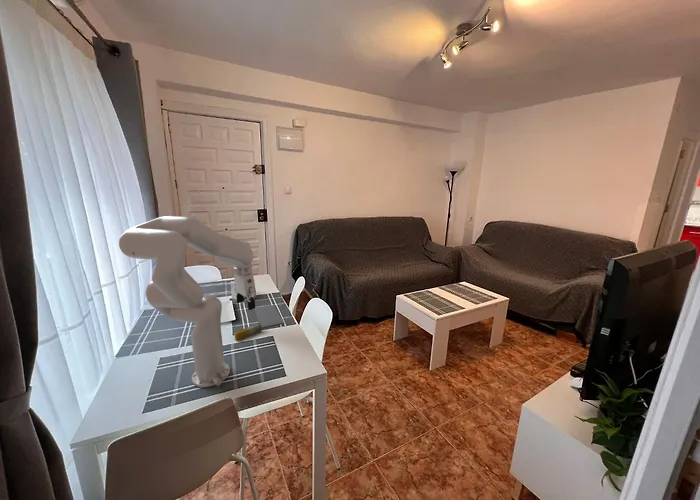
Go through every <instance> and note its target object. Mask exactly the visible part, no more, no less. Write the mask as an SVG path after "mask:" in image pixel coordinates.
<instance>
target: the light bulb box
mask: <svg viewBox="0 0 700 500" xmlns="http://www.w3.org/2000/svg"><path fill="white" fill-rule="evenodd" d="M234 283H235V280H231V281H230V290H231V291H230V293H231V298H232V299H233V300H236V301H237V297H236V291H235V287H234ZM249 294H251V293H249ZM249 294H248V295H249ZM251 297H252V296H249V298H251ZM245 302H249V301H248V299H247V297H245V296H244V301H243V302H242V303H245Z"/></svg>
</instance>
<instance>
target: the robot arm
mask: <svg viewBox="0 0 700 500" xmlns="http://www.w3.org/2000/svg"><path fill="white" fill-rule="evenodd" d="M118 247H119V250H120V251H121V253H122V254H124V255H125V256H127V257H129V258H132V259H139V260H152V261H156V265H155V268H154V270H153V272H152V275H151V281H150V282H149V283H148V285H147V287H146V288H145V297H146V300H147V302H148V303H149V305H150V306H151V307H153V308H154V309H155V310H157V311H158V312H159V313H161V314H162V315H163V316H165V317H166V318H167V319H170V320H172V321H177V322H184V323H193V324H195V326H194V328H193V329H192V331H191V333H190V342H191V346H192V355H193V360H194V361H193V362H194V369H195V371H194V372H193V374H192V375H191V383H192V384H193V385H194V386H195V387H197V388H211V387H213V386H221V384H222V382H223V381H225V380H226V379H227V378H228V376H229V375H230V372H231V368H230V365H229V364H228V363H226V362H225V356H224V354H225V353H224V345H223V337H222V325H221V322H222V321H221V318H222V308H223V307H222V306H223V305H222V302H221V300H220V298H218V297H217V296H214V295H209V294H204V291H203V289H202V286H201V285H200V284H199V283H198V282H197V280H195V279H194V278H193V277H192V276H191V274H189V272H187V270H186V269H185V260H186V255H187V249H188V248H187V247H191V248H192V249H194V250H197V251H198V252H200V253H202V254H204V255H207V256H211V257H214V259H215V261H216V262H218V264H221V265H227V266H228V265H232V269H233V275H234V281H235V283H234V287H235V291H236V297H237V300H236V303H237V304H240V303H244V302H243V301H244V296H245V297H247V299H248V301H247V310H248V311H253V310H254V308H256V299H257V292H256V284H255V279H254V274H253V265H252V263H253V260H254V252H253V250H252V248H251V244H250V242H249V241H246V240H238V239H236V238H233V237H230V236H229V235H228V236H227V235H226V234H222V233H220V232H217V231H216V230H214V229H213V228H211V227H210V226H208V225H207V224H205V223H204V222H202V221H201V220H200V219H198V218H196V217H192V216H184V215H183V216H181V215H165V216H164V215H163V216H158V217H156V218H154V219H151V220H148V221H146V222H143V223H140V224H138V225H135V226H133V227H129V228H128V229H127V230H125V231H124V232H123V233H122V234H121V235H120V238H119V240H118ZM249 293H251V294H249ZM248 294H249V295H248ZM249 296H252V297H251V298H249Z"/></svg>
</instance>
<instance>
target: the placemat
mask: <svg viewBox="0 0 700 500" xmlns="http://www.w3.org/2000/svg"><path fill="white" fill-rule="evenodd" d="M253 311H254V314H255V315H256V318H257V321H258V323H259V324H261V329H264V328H271V327H273V326H279V324H280V325H283V324H284V320H283V319H282V317H281V315H280V312H279V311H278V309H277V307H276V306H275V304H271V305H266V306H265V305H264V306H260V307H255V308H254V309H253Z"/></svg>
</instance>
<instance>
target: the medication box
mask: <svg viewBox="0 0 700 500" xmlns="http://www.w3.org/2000/svg"><path fill="white" fill-rule="evenodd" d="M262 331H263V330H262V328H261V324H259V322H258V323H256V324H252V325H249V326H247V327H243V328H242V329H239V330H236V331H234V332H233V334H234V341H236V342H240V341H243V340H246V339H248V338H250V337H253V336H256V335H258V334H261V333H262Z"/></svg>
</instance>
